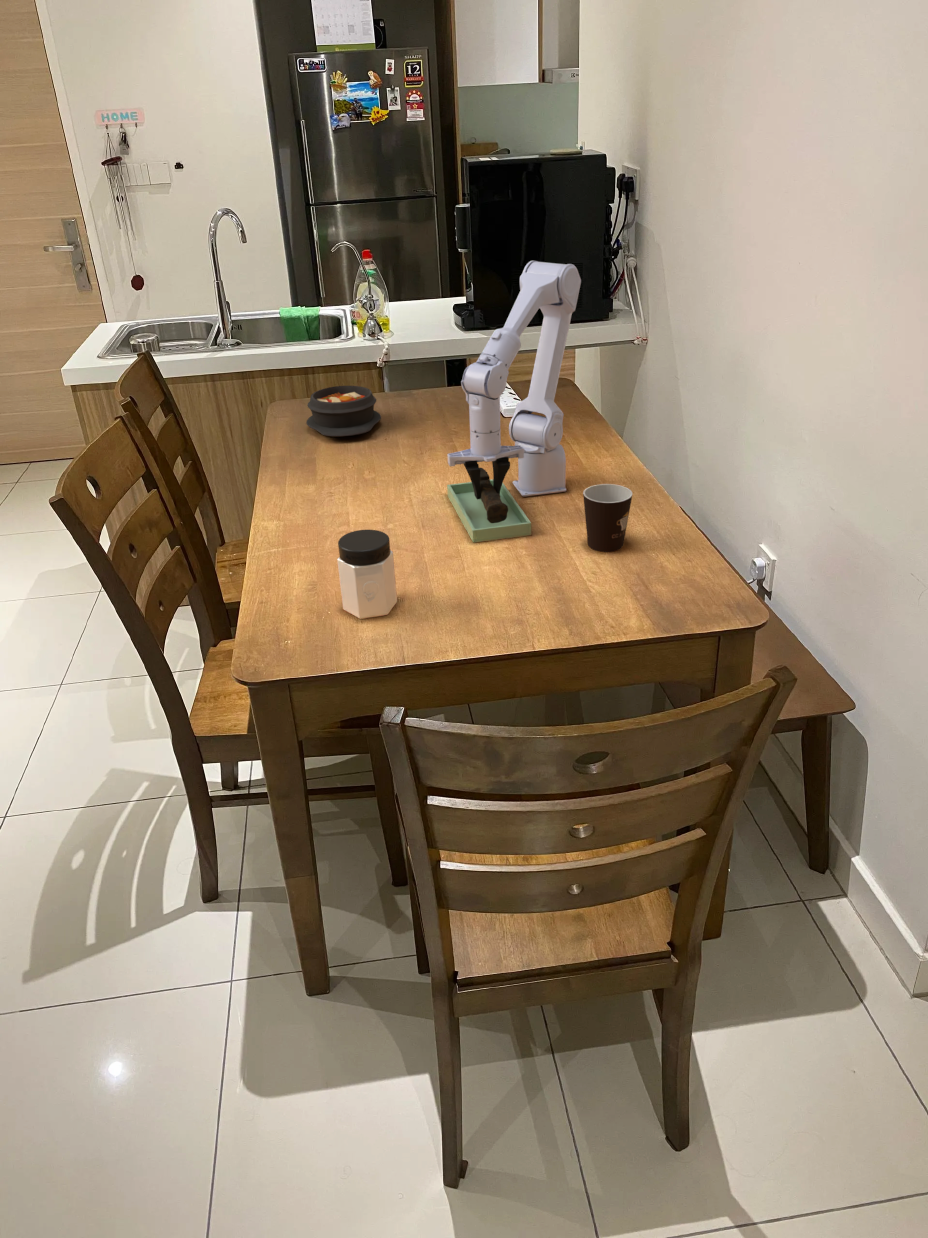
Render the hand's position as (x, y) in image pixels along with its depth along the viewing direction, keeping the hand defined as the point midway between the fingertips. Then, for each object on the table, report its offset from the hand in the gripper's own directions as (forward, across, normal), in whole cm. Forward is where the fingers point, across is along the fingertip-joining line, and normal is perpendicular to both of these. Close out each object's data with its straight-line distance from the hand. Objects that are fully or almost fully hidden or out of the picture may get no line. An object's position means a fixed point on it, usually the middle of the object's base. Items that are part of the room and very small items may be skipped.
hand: (486, 496), depth 181 cm
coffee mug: (+4, +19, -19) cm, 27 cm away
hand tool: (+2, 0, 0) cm, 2 cm away
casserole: (+4, -21, +63) cm, 67 cm away
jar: (+4, -27, -30) cm, 41 cm away
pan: (+4, 0, 0) cm, 4 cm away
